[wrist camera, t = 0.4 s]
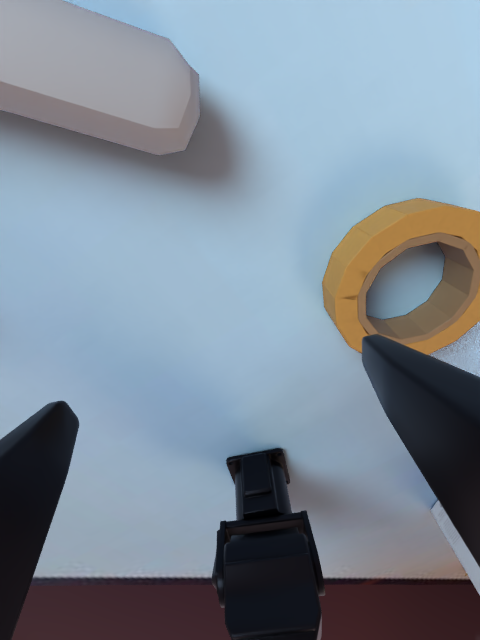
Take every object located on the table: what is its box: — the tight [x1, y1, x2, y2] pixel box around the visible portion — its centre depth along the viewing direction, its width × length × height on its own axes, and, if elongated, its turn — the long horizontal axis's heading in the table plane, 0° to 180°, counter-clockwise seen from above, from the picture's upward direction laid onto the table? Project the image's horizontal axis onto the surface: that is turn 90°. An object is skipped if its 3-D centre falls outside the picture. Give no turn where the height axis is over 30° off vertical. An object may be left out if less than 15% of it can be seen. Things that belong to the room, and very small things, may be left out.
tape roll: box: [322, 198, 480, 355], centre depth 22 cm, size 12×12×3 cm
